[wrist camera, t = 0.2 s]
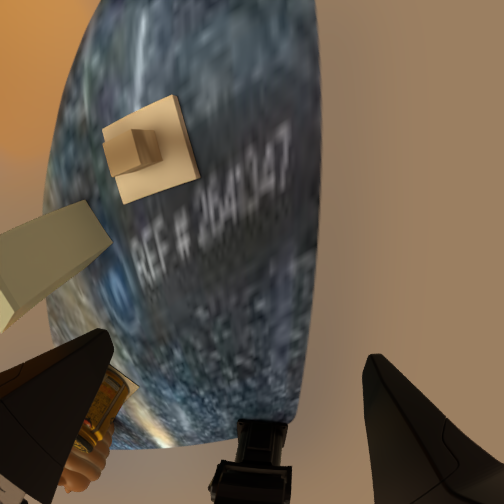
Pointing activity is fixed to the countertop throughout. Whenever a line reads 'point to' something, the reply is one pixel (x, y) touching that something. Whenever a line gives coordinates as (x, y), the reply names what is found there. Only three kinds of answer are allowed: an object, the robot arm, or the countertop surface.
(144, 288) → the countertop surface
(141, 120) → the square plate with knob
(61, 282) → the tan rectangular pillar
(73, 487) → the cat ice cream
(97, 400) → the condiment
